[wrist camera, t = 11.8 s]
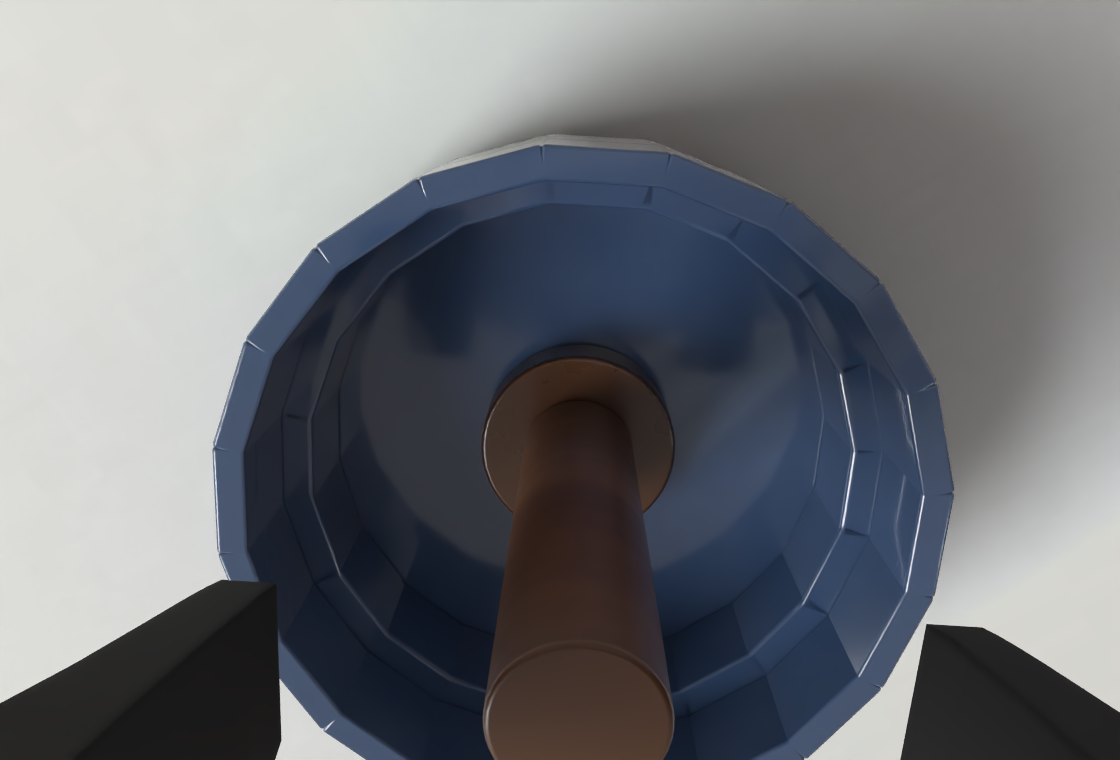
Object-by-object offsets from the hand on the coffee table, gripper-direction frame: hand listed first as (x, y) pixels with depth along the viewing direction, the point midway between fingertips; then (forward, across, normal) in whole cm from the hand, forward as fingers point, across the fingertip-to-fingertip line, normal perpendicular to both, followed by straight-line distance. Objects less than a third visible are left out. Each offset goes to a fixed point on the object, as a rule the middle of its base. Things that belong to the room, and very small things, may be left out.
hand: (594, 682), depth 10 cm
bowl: (+9, 0, 0) cm, 9 cm away
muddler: (+8, 0, 0) cm, 8 cm away
